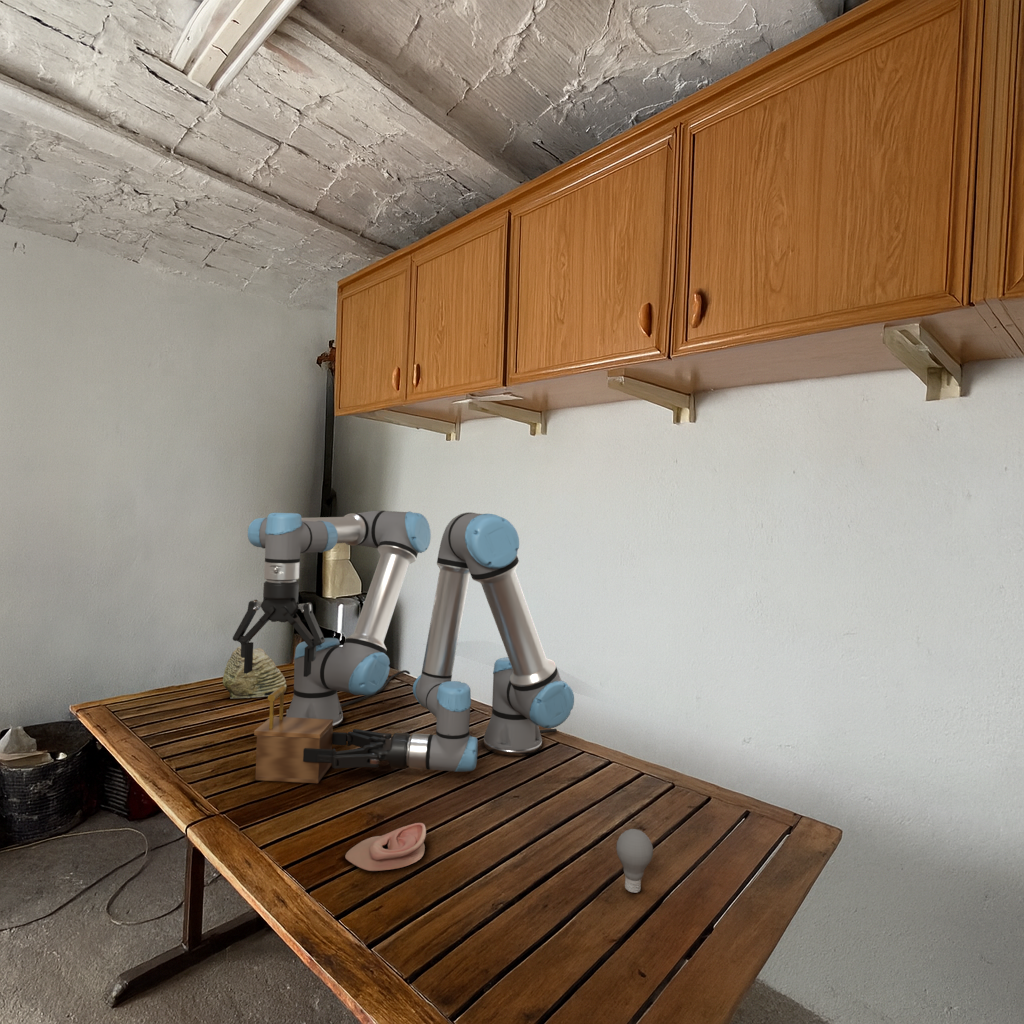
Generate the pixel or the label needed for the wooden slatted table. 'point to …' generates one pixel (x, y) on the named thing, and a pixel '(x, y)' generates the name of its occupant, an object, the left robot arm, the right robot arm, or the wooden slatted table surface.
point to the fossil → (252, 676)
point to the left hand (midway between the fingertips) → (277, 673)
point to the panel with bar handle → (291, 722)
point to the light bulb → (634, 857)
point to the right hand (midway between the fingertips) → (311, 745)
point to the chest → (290, 758)
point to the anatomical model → (390, 849)
